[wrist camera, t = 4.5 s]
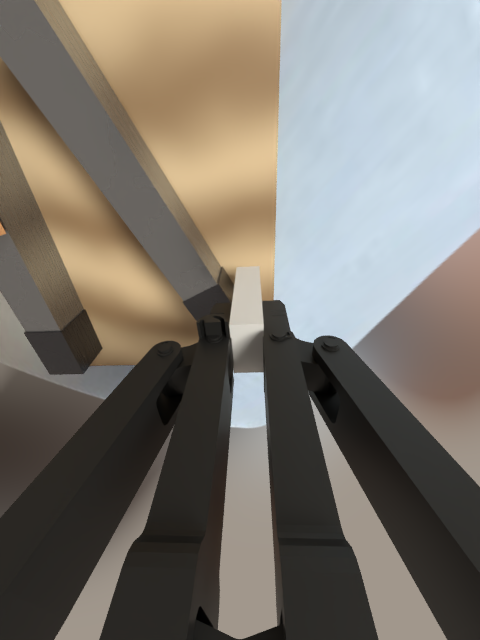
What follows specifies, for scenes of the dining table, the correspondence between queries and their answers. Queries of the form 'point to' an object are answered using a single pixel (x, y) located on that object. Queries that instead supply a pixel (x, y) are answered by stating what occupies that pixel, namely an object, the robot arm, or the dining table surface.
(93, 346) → the tongs fixed
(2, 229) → the tab
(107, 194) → the bar
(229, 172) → the board
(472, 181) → the dining table surface
